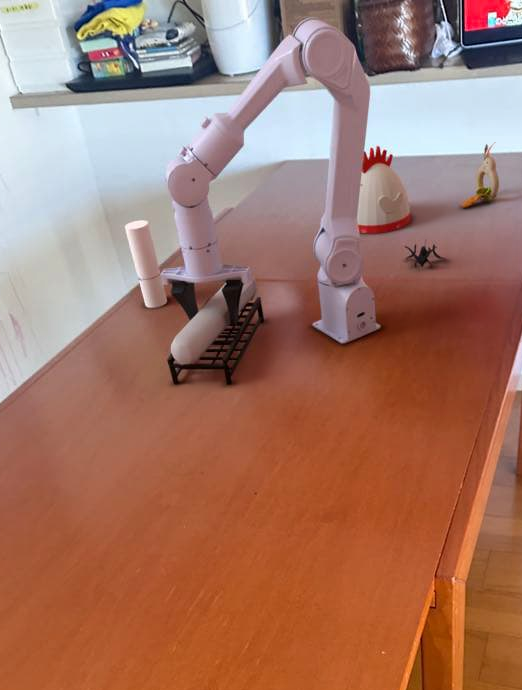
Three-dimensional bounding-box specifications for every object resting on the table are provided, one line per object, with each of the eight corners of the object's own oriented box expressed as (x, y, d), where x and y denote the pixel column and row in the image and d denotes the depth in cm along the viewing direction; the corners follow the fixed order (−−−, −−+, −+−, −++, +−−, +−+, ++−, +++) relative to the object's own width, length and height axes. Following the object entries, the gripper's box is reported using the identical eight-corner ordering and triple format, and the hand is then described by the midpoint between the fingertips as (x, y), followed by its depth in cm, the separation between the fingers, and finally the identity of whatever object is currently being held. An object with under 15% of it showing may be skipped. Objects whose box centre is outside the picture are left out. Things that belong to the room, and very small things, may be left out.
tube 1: (171, 298, 148) (152, 220, 138) (159, 308, 146) (139, 229, 136) (152, 297, 150) (133, 219, 140) (141, 306, 147) (120, 228, 137)
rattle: (453, 199, 170) (454, 144, 162) (489, 193, 170) (492, 137, 163) (463, 210, 164) (465, 153, 157) (500, 204, 165) (503, 146, 157)
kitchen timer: (335, 221, 169) (329, 148, 159) (388, 205, 172) (386, 132, 162) (366, 238, 159) (362, 162, 149) (422, 221, 162) (422, 145, 153)
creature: (409, 261, 150) (399, 269, 144) (410, 232, 148) (399, 239, 141) (448, 262, 148) (440, 270, 141) (450, 233, 145) (441, 240, 139)
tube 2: (196, 348, 115) (259, 276, 132) (165, 335, 116) (231, 266, 132) (194, 376, 119) (255, 303, 136) (163, 364, 120) (228, 293, 136)
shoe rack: (264, 320, 136) (261, 296, 133) (231, 385, 121) (226, 359, 118) (212, 321, 139) (207, 297, 136) (172, 384, 123) (166, 359, 120)
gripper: (250, 230, 118) (263, 312, 127) (164, 234, 122) (182, 313, 131) (238, 248, 113) (252, 332, 122) (148, 251, 117) (169, 333, 126)
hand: (215, 323), depth 126 cm, fingers open, 6 cm apart
